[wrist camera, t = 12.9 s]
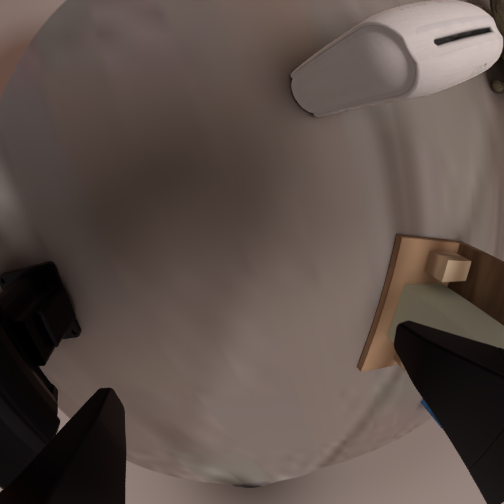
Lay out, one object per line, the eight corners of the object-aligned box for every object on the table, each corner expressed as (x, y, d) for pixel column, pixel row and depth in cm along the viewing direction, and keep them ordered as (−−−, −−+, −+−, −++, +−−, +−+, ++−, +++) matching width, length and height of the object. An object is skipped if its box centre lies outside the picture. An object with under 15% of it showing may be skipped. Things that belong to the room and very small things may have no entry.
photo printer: (380, 35, 16) (494, -9, 5) (404, 79, 18) (528, 61, 7) (277, 74, 17) (380, -8, 5) (309, 126, 18) (443, 108, 7)
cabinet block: (386, 336, 25) (465, 422, 13) (404, 284, 23) (503, 362, 12) (424, 330, 26) (499, 400, 14) (441, 283, 24) (530, 346, 13)
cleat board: (357, 367, 27) (406, 436, 17) (396, 234, 22) (484, 281, 13) (423, 353, 29) (472, 404, 19) (462, 241, 24) (533, 277, 15)
